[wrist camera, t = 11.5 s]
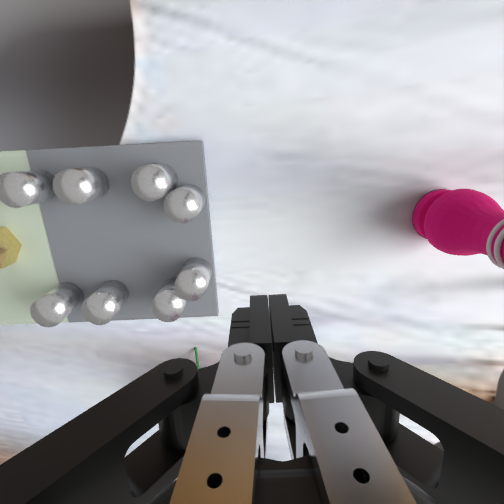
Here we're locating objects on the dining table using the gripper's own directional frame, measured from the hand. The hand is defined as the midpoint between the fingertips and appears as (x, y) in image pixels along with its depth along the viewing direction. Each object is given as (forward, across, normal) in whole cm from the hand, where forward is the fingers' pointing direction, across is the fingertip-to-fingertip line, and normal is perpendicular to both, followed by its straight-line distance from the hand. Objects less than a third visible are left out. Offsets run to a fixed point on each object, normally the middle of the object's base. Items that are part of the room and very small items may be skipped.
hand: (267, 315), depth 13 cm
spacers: (+26, +16, +3) cm, 31 cm away
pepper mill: (+27, -22, +2) cm, 35 cm away
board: (+27, +22, +3) cm, 35 cm away
